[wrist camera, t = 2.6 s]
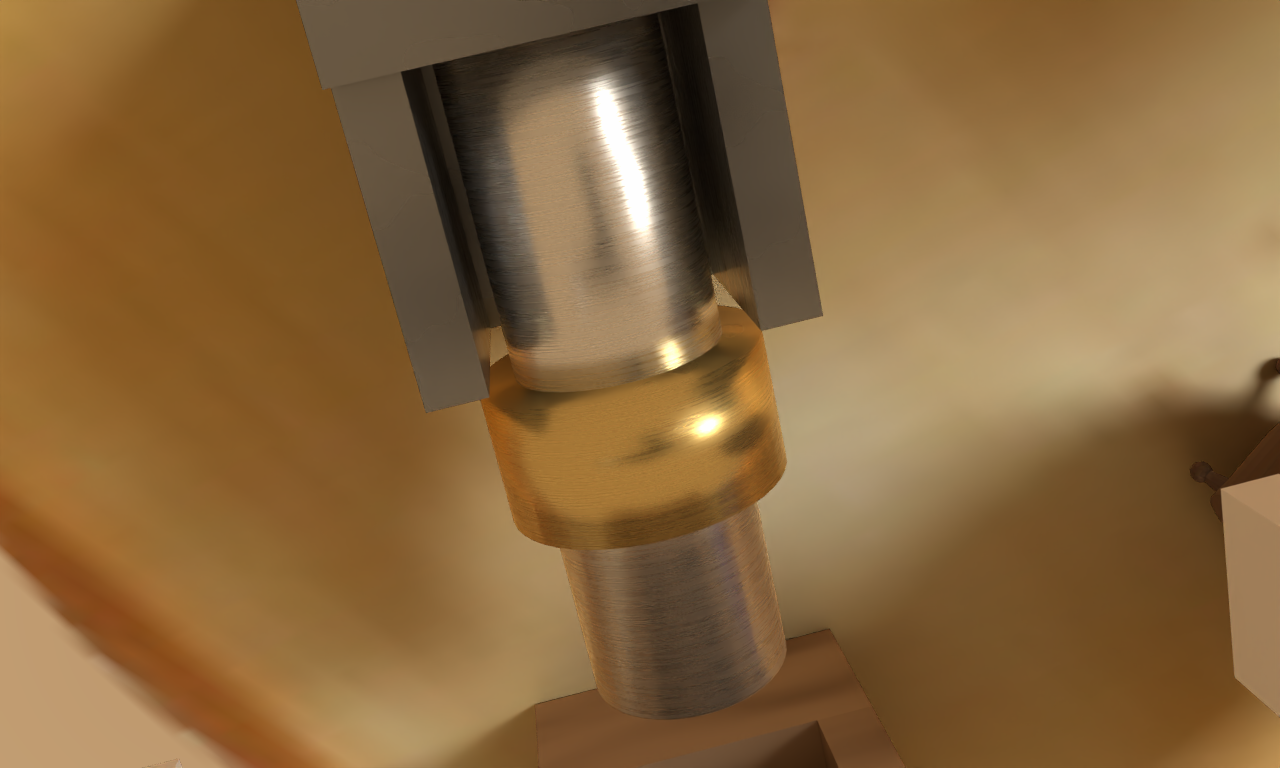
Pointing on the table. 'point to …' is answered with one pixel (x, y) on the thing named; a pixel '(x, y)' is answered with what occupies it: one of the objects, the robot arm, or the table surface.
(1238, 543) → the robot arm
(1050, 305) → the table surface
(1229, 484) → the alarm clock
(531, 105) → the tube
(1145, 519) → the table surface
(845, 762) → the socket block
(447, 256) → the square shaft housing
